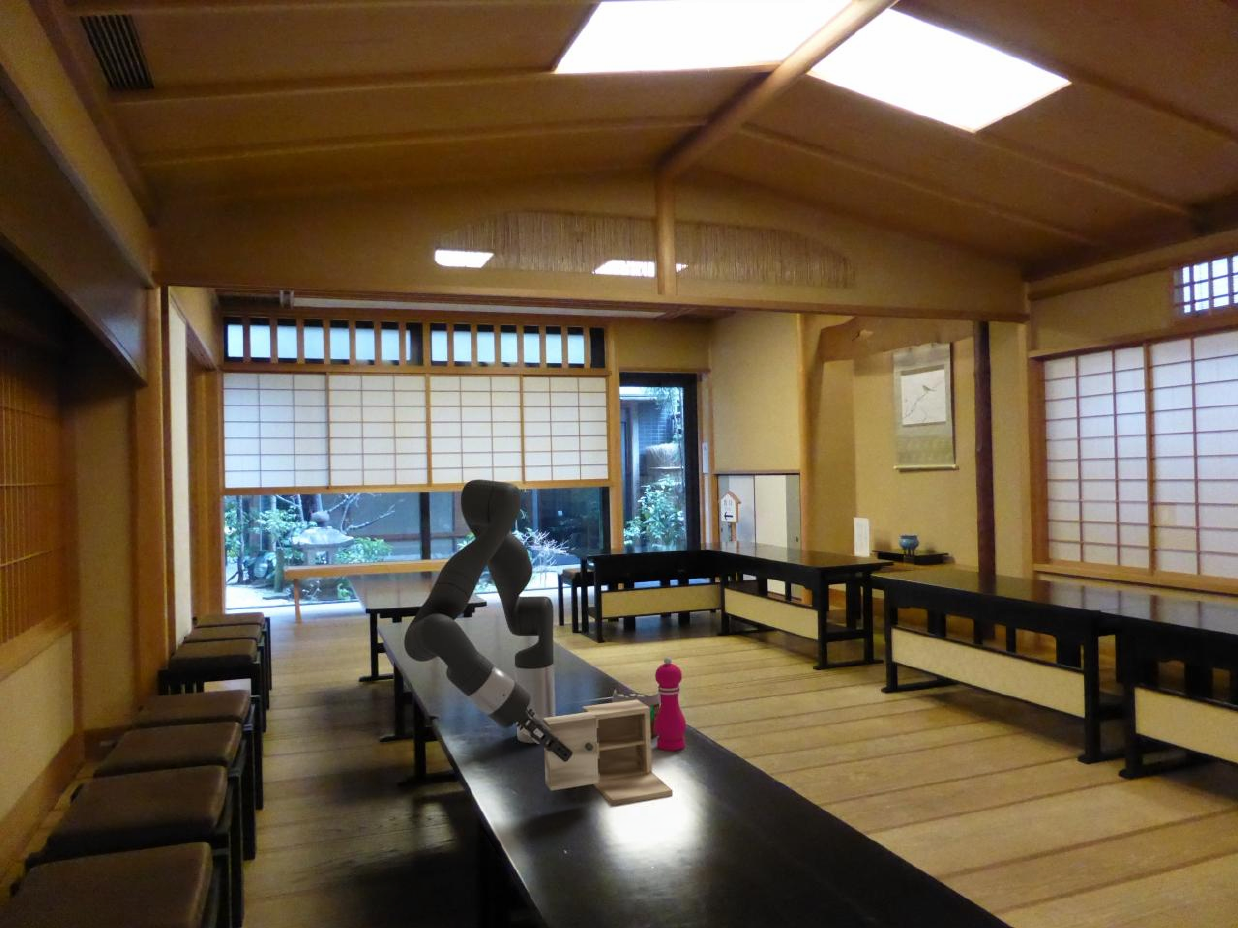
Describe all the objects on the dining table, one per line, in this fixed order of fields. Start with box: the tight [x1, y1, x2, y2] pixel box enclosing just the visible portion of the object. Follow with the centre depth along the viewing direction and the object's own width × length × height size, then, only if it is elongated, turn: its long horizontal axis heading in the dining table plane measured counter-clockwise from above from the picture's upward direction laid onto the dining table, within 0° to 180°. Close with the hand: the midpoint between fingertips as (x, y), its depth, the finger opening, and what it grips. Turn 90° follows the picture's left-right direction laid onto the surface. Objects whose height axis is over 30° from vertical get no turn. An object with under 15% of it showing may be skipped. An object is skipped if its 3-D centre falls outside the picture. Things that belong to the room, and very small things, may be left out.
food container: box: [611, 689, 661, 739], centre depth 194 cm, size 12×6×10 cm, turn 68°
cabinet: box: [582, 700, 673, 807], centre depth 164 cm, size 18×12×14 cm
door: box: [543, 712, 598, 791], centre depth 153 cm, size 5×9×12 cm, turn 109°
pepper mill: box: [654, 656, 687, 752], centre depth 186 cm, size 7×7×20 cm
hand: (565, 753), depth 153 cm, fingers closed on door, 4 cm apart
